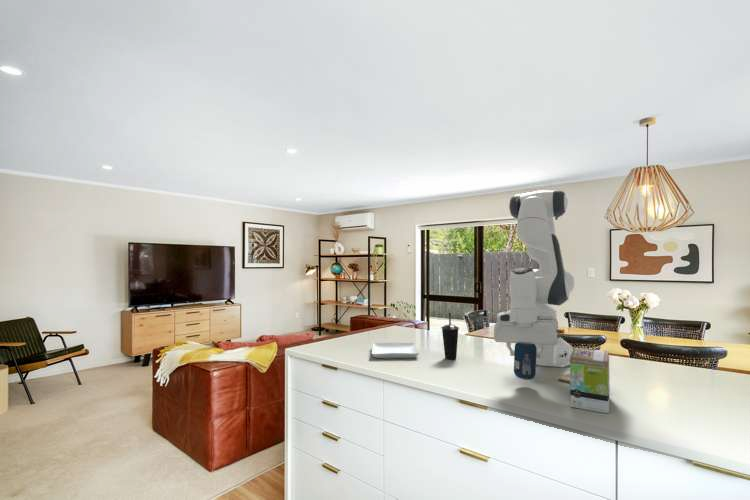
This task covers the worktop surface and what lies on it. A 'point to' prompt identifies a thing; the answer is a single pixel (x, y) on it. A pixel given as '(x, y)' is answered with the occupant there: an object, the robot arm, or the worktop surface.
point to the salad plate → (394, 350)
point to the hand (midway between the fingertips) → (525, 356)
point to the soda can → (525, 361)
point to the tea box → (589, 380)
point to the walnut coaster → (565, 378)
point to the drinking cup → (450, 340)
